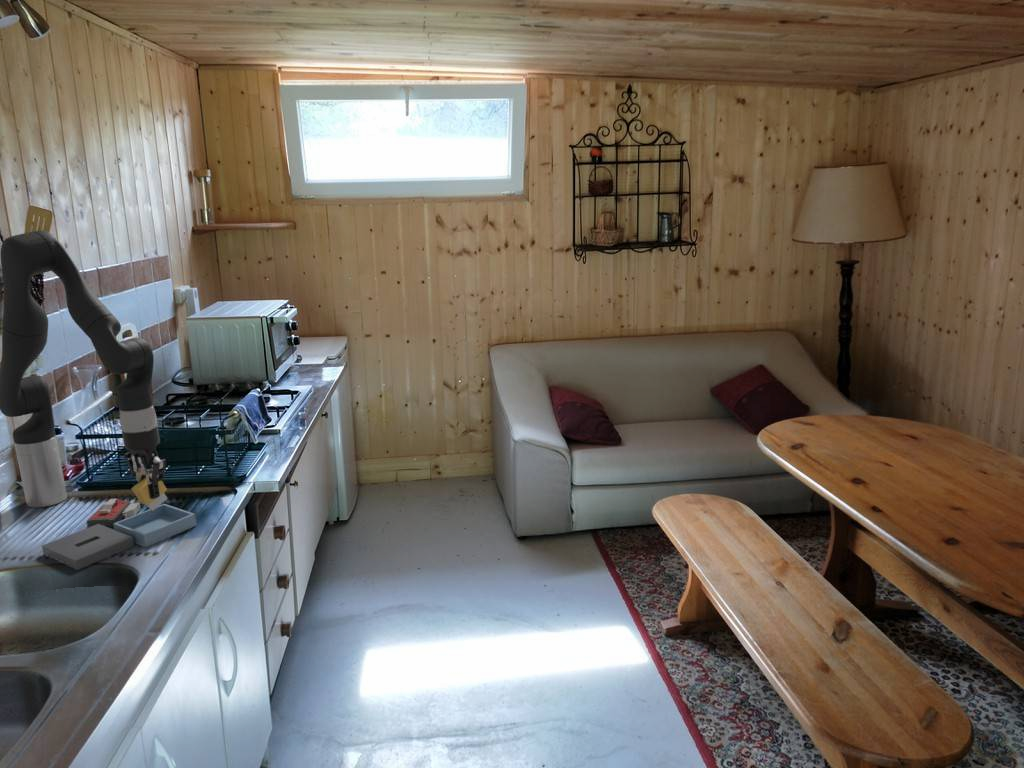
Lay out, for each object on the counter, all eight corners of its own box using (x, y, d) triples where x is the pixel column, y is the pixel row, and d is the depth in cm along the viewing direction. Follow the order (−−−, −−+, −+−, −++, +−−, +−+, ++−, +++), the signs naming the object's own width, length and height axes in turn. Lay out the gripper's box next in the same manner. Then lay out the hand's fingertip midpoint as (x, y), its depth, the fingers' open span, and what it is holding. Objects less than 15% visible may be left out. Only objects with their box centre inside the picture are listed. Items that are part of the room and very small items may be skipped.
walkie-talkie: (122, 532, 186) (152, 498, 206) (119, 515, 185) (149, 483, 204) (84, 534, 186) (117, 500, 205) (80, 517, 184) (114, 485, 204)
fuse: (145, 510, 184) (131, 488, 181) (164, 495, 188) (151, 473, 184) (153, 513, 183) (138, 490, 179) (172, 497, 186) (158, 475, 183)
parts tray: (115, 535, 184) (113, 523, 183) (166, 514, 194) (164, 503, 193) (145, 547, 177) (143, 535, 176) (196, 525, 188) (194, 513, 187)
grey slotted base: (43, 554, 175) (41, 545, 174) (100, 532, 185) (98, 523, 185) (77, 570, 168) (75, 560, 167) (134, 545, 178) (132, 537, 177)
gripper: (106, 426, 180) (118, 496, 184) (142, 435, 172) (153, 508, 176) (137, 417, 186) (148, 485, 190) (172, 426, 178) (183, 496, 182)
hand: (150, 496), depth 183 cm, fingers closed on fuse, 2 cm apart
